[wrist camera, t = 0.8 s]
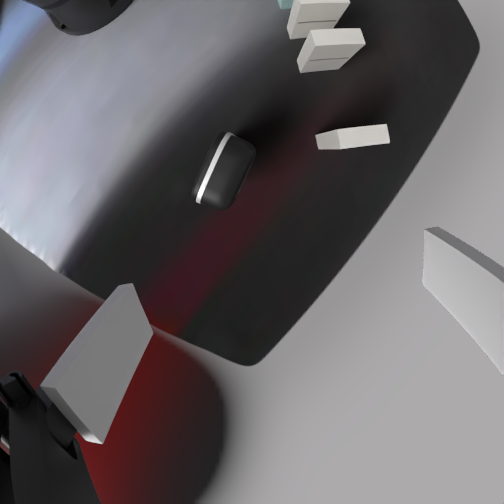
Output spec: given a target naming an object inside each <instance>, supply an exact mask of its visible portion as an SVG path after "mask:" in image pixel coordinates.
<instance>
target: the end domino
mask: <svg viewBox="0 0 504 504" xmlns="http://www.w3.org/2000/svg"><path fill="white" fill-rule="evenodd" d="M315 136H316V140H317V145H318V149H345V148H352V147H360V146H368V145H376V144H385V143H390V140H389V134H388V129H387V124H383V125H372V126H362V127H353V128H344V129H337V130H333V131H328V132H325V133H321V134H317V135H315Z"/></svg>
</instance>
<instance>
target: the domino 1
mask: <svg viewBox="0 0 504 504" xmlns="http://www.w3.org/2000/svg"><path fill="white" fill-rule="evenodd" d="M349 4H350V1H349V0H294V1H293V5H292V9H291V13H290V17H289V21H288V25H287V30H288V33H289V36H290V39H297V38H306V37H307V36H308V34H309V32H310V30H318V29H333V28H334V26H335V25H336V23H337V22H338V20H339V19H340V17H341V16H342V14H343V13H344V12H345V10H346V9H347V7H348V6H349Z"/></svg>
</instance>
